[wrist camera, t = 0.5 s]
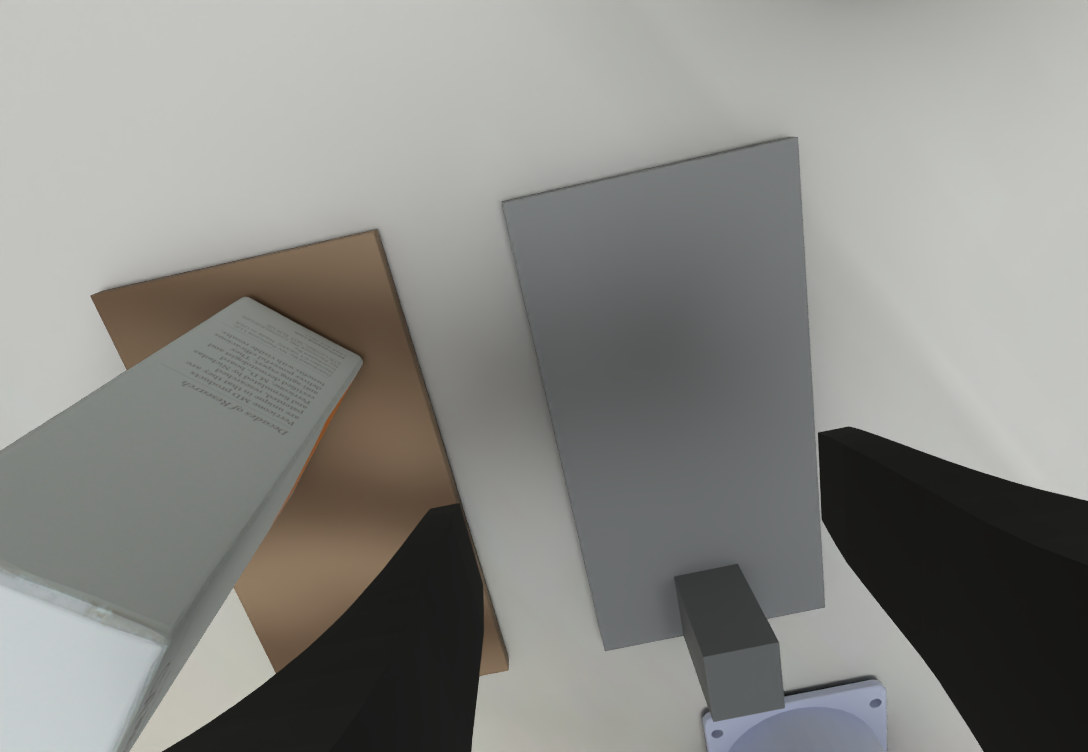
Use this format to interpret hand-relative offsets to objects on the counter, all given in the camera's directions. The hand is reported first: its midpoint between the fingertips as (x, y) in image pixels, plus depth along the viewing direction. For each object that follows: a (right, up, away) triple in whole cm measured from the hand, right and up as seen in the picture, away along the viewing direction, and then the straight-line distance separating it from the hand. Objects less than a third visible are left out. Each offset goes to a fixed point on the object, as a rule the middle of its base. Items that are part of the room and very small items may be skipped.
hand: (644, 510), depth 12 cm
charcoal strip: (+3, +1, +10) cm, 11 cm away
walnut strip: (-10, -2, +11) cm, 15 cm away
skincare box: (-11, +2, +8) cm, 14 cm away
